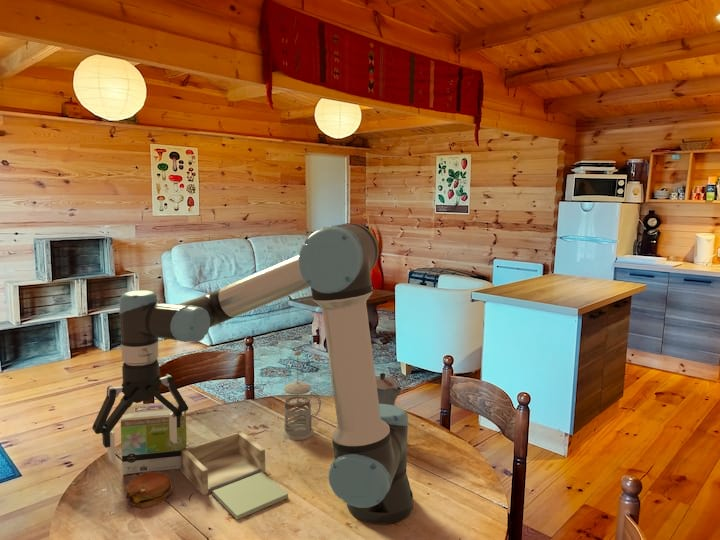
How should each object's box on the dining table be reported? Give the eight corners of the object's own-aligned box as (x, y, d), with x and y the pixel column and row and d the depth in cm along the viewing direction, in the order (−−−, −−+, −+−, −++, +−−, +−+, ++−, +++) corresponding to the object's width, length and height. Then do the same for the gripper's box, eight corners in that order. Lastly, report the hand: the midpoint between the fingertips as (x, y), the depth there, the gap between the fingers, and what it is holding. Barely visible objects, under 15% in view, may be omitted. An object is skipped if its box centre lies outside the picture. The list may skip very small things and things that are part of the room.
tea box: (122, 477, 127) (118, 420, 125) (128, 457, 137) (125, 404, 135) (186, 468, 131) (184, 414, 129) (187, 450, 141) (185, 398, 139)
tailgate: (288, 497, 120) (287, 492, 119) (236, 519, 111) (236, 513, 111) (259, 473, 130) (259, 468, 129) (210, 492, 121) (210, 486, 121)
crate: (265, 471, 131) (264, 449, 130) (203, 495, 120) (202, 471, 119) (240, 451, 140) (240, 430, 140) (181, 471, 130) (180, 449, 129)
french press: (284, 424, 158) (283, 345, 154) (322, 425, 157) (322, 346, 153) (278, 439, 148) (277, 355, 144) (318, 440, 147) (318, 356, 144)
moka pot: (392, 452, 141) (394, 382, 138) (345, 437, 149) (346, 371, 146) (408, 438, 149) (410, 372, 146) (362, 425, 157) (363, 362, 154)
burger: (170, 482, 126) (169, 464, 125) (173, 503, 117) (172, 484, 116) (126, 491, 122) (124, 472, 121) (125, 513, 113) (124, 494, 112)
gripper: (82, 377, 103) (87, 475, 107) (201, 354, 119) (203, 440, 123) (73, 367, 109) (79, 460, 112) (188, 346, 125) (190, 428, 128)
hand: (143, 450), depth 117 cm, fingers open, 13 cm apart
